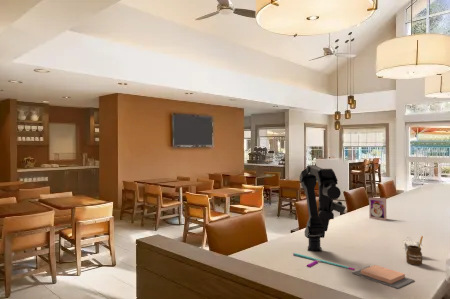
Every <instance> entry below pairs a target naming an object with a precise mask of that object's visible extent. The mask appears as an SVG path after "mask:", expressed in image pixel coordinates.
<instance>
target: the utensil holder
mask: <svg viewBox="0 0 450 299" xmlns="http://www.w3.org/2000/svg"><path fill="white" fill-rule="evenodd" d="M409 238H410V239H409ZM423 238H424V237H423V235H421V237H420V239H419V241H420V244H422V242H423ZM409 240H412V238H411V237H410V236H409V237H407V239H406V242H409ZM411 242H412V243H413V242H414V241H411ZM407 244H408V243H407ZM420 244H419V247H418V246H412V244H410V246H409V245H408V246H407V249H408V250H407V252H405V255H406V256H405V258H406V263H408V264H409V265H412V266H421V265H422V264H423V253H422V249H421V248H420Z"/></svg>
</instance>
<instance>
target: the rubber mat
mask: <svg viewBox="0 0 450 299" xmlns="http://www.w3.org/2000/svg"><path fill="white" fill-rule="evenodd" d="M368 267H371V266H370V265H369V266H366V267H363V268H361V269H358V270H356V271H355V270H354V271H353V272H352V274H353V275H356V276H359V277H361V278H364V279H368V280H370V281H373V282H376V283H379V284H382V285H385V286H387V287H391V288H394V289H397V290H398V289H401V288H403V287H405V286H407V285H408V284H411V283H413V282H415V279H413V278H409V277H406V276H405V278H403V279H401V280H399V281H396V282H394V283H392V284H389V283H386V282H383V281H380V280H377V279H374V278H372V277H369V276H366V275H363V274H361V270H363V269H365V268H368Z"/></svg>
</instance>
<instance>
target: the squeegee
mask: <svg viewBox="0 0 450 299" xmlns="http://www.w3.org/2000/svg"><path fill="white" fill-rule="evenodd" d="M292 254H293V256H295V257H298V258H303V259H306V260H312V262H310V263H308V264H306V267H307V268H308V267H309V268H311V267H313V266H316V265H317V264H319V263H325V264H328V265H332V266H336V267H341V268H345V269H348V270H351V271H355V270H356V269H355V267H354V268H353V267H351V266H348V265H343V264H339V263H335V262H331V261H327V260H324V259H319V258H315V257H313V256H309V255H308V256H307V255H304V254H301V253H296V252H293V253H292Z"/></svg>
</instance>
